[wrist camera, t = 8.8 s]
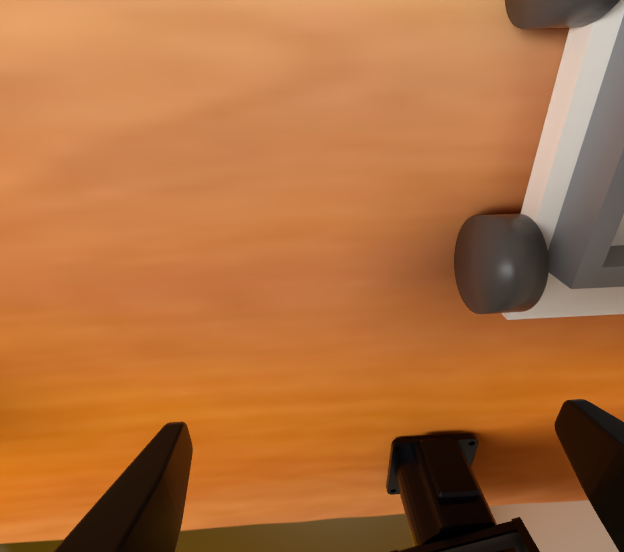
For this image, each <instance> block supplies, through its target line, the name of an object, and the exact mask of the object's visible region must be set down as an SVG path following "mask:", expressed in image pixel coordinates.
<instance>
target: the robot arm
mask: <svg viewBox="0 0 624 552" xmlns="http://www.w3.org/2000/svg"><path fill="white" fill-rule="evenodd" d="M555 431H556V434H557V436H558V438H559V440H560V442H561V444H562V446H563V448H564V450H565V452H566V455H567V457H568V459H569V461H570V463H571V465H572V467H573V469H574V471H575V473H576V475H577V477H578V479H579V482H580V484H581V486H582V488H583V490H584V492H585V494H586V495H587V497H588V499H589V501H590V503H591V504H592V506H593V508H594V510H595V511H596V513H597V515H598V517H599V518H600V520H601V522H602V523H603V525H604V527H605V528H606V530H607V532H608V533H609V535H610V537H611V539H612V540H613V542H614V544H615V545H616V547H617V549H618V550H619V552H624V422H622V421H621V420H619V419H617V418H616V417H614V416H612V415H611V414H609V413H607V412H606V411H604V410H602V409H600V408H599V407H597V406H595V405H594V404H592V403H590V402H589V401H586V400H583V399H576V400H567V401H565V402H564V403H563V405H562V407H561V410H560V412H559V414H558V416H557V419H556V421H555ZM477 445H478V440H477V438H476V436H475V435H472V434H469V435H453V436H437V437H420V438H404V439H396V440H394V441H393V442H392V444H391V452H390V460H389V468H388V476H387V484H386V488H387V492H388V494H400V495H401V499H402V503H403V507H404V511H405V514H406V518H407V522H408V526H409V529H410V533H411V537H412V541H413V545H414V547H411V548H407V549H404V550H400V551H398V550H393V551H390V552H540V551H539V549H538V548H537V546H536V544H535V543H534V541H533V539H532V537H531V536H530V534H529V532H528V530H527V529H526V527H525V525H524V523H523V522H522V520H521V518H520V517H518V518H514V519H512V521H510V522H506V523H502V524H498V525H497V524H496V521H495V519H494V517H493V515H492V513H491V511H490V508H489V506H488V504H487V502H486V500H485V497H484V495H483V493H482V491H481V489H480V487H479V484H478V482H477V480H476V478H475V476H474V474H473V471H472V469H471V465H472V462H473V458H474V455H475V452H476V449H477ZM192 451H193V447H192V442H191V438H190V435H189V431H188V428H187V425H186V423H185V422H171V423H167V424H166V425H165V426H164V427H163V428H162V429H161V430H160V431H159V432H158V433H157V435H156V436H155V437H154V438H153V439H152V440H151V441H150V443H149V444H148V445H147V446H146V447H145V448H144V449H143V450H142V452H141V453H140V454H139V455H138V456H137V457H136V458H135V460H134V461H133V462H132V463H131V464H130V465H129V466H128V468H127V469H126V470H125V471H124V472H123V473H122V474H121V476H120V477H119V478H118V479H117V480H116V481H115V482H114V483H113V485H112V486H111V487H110V488H109V489H108V490H107V491H106V493H105V494H104V495H103V496H102V497H101V498H100V499H99V501H98V502H97V503H96V504H95V505H94V506H93V507H92V508H91V510H90V511H89V512H88V513H87V514H86V515H85V516H84V518H83V519H82V520H81V521H80V522H79V523H78V524H77V526H76V527H75V528H74V529H73V530H72V531H71V532H70V534H69V535H68V536H67V537H66V538H65V539H64V540H63V541H62V543H61V544H60V545H59V546H58V548H57V549H55V551H54V552H175V549H176V545H177V541H178V537H179V533H180V529H181V524H182V518H183V512H184V506H185V499H186V493H187V486H188V479H189V473H190V466H191V460H192Z"/></svg>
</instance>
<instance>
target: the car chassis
mask: <svg viewBox="0 0 624 552" xmlns="http://www.w3.org/2000/svg"><path fill="white" fill-rule="evenodd" d="M505 6H506V10H507V14H508V17H509V19H510V21H511V22H512V24H513V25H514V26H516V27H517V28H521V29H537V28H570V29H569V33H568V37H567V40H566V44H565V48H564V52H563V56H562V59H561V63H560V67H559V71H558V74H557V78H556V82H555V86H554V89H553V93H552V97H551V101H550V104H549V108H548V112H547V116H546V120H545V123H544V127H543V131H542V135H541V138H540V142H539V146H538V150H537V153H536V157H535V161H534V165H533V168H532V172H531V176H530V180H529V184H528V187H527V191H526V195H525V199H524V202H523V206H522V210H521V214H495V215H475V216H472V217H470V218H469V219H467V220H466V221H465V223H464V224H463V226H462V227H461V229H460V232H459V234H458V238H457V241H456V246H455V255H454V268H455V277H456V282H457V286H458V290H459V293H460V295H461V298H462V300H463V301H464V303H465V304H466V306H467V307H468V308H469V309H470V310H471V311H472V312H474V313H477V314H490V313H501V314H502V315H503V316H504V317H505V318H506V319H507V320H516V319H535V318H555V317H575V316H594V315H614V314H624V0H505Z"/></svg>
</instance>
